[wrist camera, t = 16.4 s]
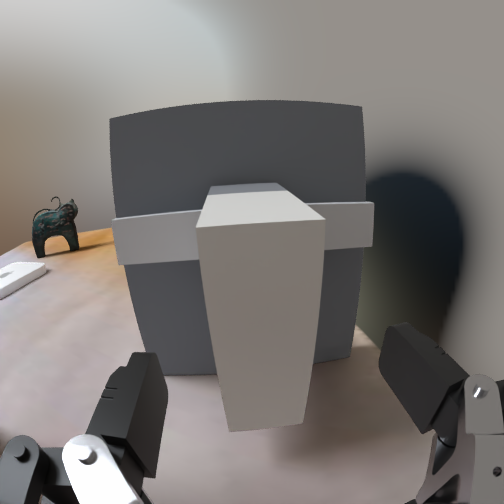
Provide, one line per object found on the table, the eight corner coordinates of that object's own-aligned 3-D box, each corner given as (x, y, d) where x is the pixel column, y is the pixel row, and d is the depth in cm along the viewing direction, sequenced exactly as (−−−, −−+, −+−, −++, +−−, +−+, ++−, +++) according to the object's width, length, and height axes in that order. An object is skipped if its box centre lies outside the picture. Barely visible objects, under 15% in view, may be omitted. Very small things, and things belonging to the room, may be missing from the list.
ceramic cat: (84, 246, 86) (76, 192, 80) (81, 250, 80) (73, 192, 74) (38, 255, 77) (29, 202, 71) (34, 260, 72) (24, 204, 66)
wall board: (147, 395, 23) (92, 112, 16) (161, 348, 31) (128, 126, 23) (360, 374, 25) (380, 99, 17) (335, 333, 33) (340, 115, 25)
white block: (229, 431, 15) (195, 227, 10) (225, 335, 25) (210, 186, 20) (302, 423, 16) (325, 219, 10) (277, 330, 26) (276, 182, 21)
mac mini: (-29, 294, 44) (-32, 285, 43) (16, 269, 64) (14, 261, 64) (-4, 303, 40) (-7, 293, 40) (51, 271, 61) (48, 262, 60)
